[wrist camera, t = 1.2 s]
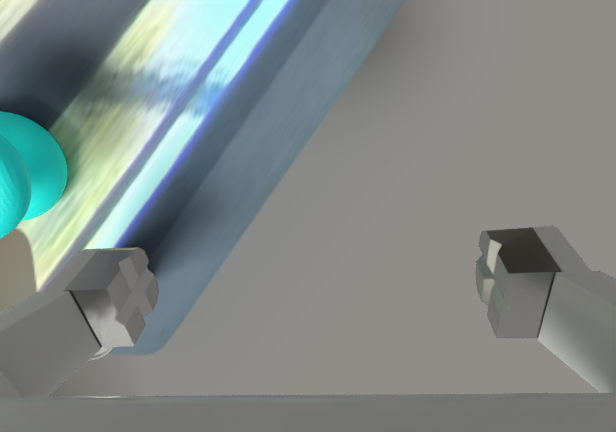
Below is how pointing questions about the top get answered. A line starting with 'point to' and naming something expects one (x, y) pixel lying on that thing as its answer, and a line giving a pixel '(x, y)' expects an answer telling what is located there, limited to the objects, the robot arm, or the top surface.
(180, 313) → the top surface
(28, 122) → the donuts
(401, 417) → the robot arm
